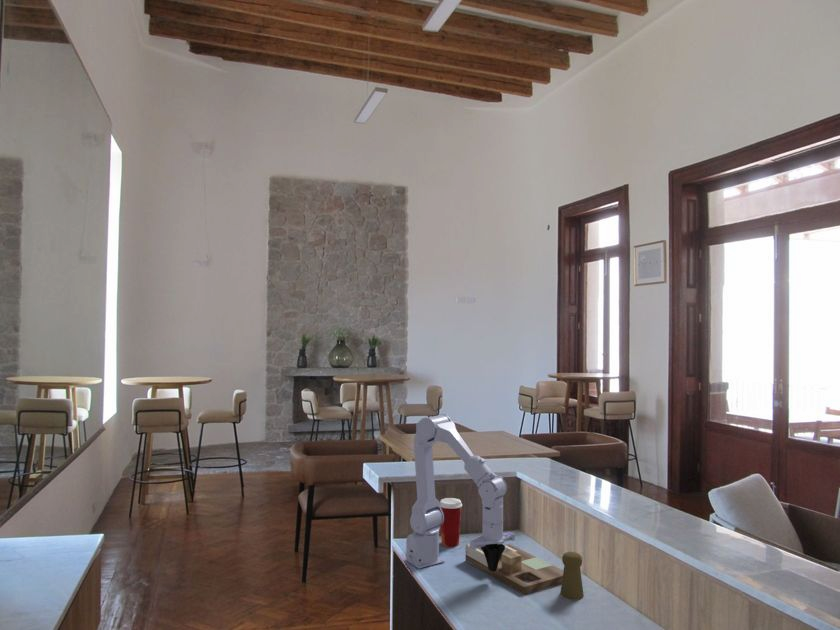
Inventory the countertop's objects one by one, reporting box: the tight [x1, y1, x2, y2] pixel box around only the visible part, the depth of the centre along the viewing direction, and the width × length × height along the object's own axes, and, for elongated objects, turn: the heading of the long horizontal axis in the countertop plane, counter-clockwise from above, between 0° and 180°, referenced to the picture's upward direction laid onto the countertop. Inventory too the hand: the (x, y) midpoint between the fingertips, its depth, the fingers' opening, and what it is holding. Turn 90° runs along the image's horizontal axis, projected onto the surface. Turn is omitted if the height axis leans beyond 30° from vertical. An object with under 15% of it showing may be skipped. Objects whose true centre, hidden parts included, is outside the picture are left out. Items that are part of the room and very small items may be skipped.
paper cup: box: [439, 497, 463, 548], centre depth 201 cm, size 8×8×14 cm
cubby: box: [465, 542, 517, 567], centre depth 185 cm, size 10×12×3 cm
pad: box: [522, 556, 552, 570], centre depth 181 cm, size 6×7×2 cm
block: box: [502, 551, 522, 572], centre depth 177 cm, size 4×4×4 cm
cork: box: [559, 551, 585, 601], centre depth 165 cm, size 6×6×11 cm
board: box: [465, 543, 564, 595], centre depth 180 cm, size 17×26×2 cm, turn 32°
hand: (492, 570), depth 173 cm, fingers closed
